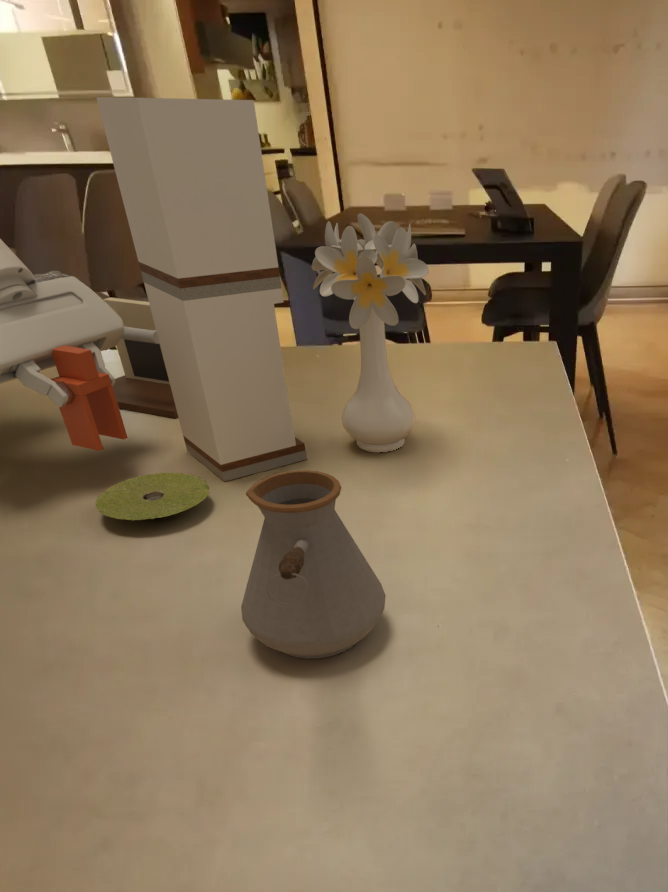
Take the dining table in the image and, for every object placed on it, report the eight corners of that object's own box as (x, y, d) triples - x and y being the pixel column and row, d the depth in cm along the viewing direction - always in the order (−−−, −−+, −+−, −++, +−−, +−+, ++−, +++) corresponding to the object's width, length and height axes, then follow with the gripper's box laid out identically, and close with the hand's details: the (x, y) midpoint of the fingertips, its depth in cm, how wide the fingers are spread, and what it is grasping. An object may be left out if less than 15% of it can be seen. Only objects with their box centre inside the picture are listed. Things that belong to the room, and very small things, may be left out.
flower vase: (347, 481, 82) (319, 234, 66) (323, 425, 95) (296, 211, 80) (453, 467, 85) (450, 231, 70) (416, 416, 99) (407, 209, 83)
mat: (220, 485, 80) (216, 469, 79) (204, 532, 71) (200, 515, 70) (116, 491, 79) (111, 474, 77) (87, 539, 70) (81, 522, 69)
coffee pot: (252, 598, 62) (215, 434, 53) (382, 587, 64) (368, 425, 54) (230, 779, 45) (170, 585, 36) (406, 757, 47) (392, 566, 38)
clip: (99, 451, 77) (68, 356, 71) (71, 445, 78) (39, 351, 72) (127, 437, 80) (100, 346, 74) (101, 432, 81) (71, 341, 75)
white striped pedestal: (307, 459, 86) (253, 100, 65) (224, 481, 81) (136, 97, 59) (265, 432, 93) (205, 99, 72) (187, 451, 88) (96, 97, 66)
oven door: (175, 418, 97) (151, 325, 89) (76, 400, 102) (45, 311, 94) (226, 394, 105) (208, 308, 97) (132, 379, 110) (107, 296, 102)
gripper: (58, 288, 82) (147, 384, 85) (-116, 327, 67) (0, 443, 70) (75, 248, 78) (167, 351, 81) (-107, 280, 63) (16, 405, 66)
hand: (89, 394), depth 76 cm, fingers closed on clip, 4 cm apart
